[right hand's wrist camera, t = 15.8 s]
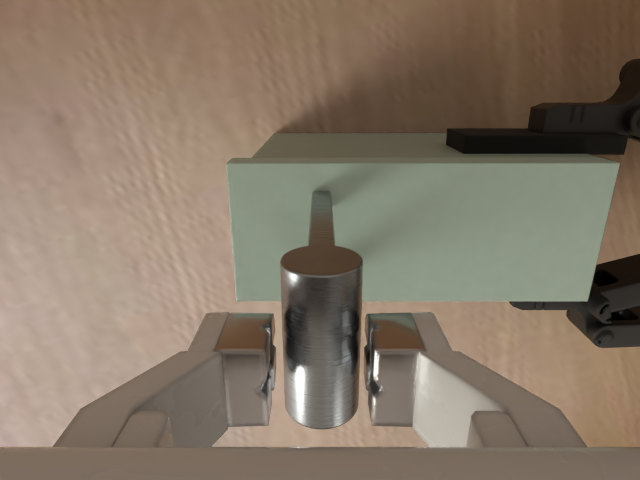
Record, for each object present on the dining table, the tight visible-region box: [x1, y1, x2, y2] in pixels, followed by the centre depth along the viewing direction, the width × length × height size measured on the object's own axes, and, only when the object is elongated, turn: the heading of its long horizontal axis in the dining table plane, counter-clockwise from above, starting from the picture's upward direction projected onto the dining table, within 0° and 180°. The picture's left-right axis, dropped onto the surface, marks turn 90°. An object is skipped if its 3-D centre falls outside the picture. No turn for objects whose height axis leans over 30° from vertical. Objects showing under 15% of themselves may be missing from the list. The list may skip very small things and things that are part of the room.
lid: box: [226, 158, 620, 429], centre depth 14 cm, size 14×6×9 cm, turn 90°
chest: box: [252, 133, 600, 158], centre depth 22 cm, size 14×6×9 cm, turn 90°
